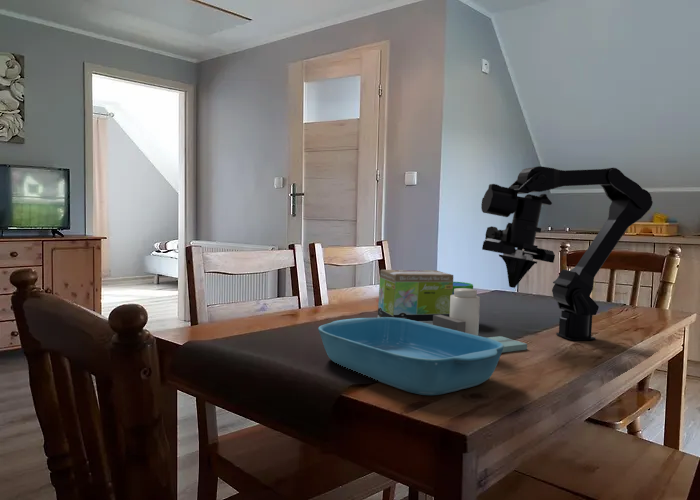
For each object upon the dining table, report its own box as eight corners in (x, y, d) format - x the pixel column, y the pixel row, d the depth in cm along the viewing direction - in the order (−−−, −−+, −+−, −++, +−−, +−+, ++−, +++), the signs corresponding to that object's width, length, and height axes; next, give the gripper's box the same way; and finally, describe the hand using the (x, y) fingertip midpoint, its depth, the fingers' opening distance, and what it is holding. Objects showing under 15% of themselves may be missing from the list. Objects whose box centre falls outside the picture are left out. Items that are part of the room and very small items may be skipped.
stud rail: (500, 341, 127) (501, 309, 126) (526, 349, 120) (528, 316, 119) (431, 349, 118) (433, 315, 117) (456, 358, 111) (457, 322, 110)
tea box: (392, 338, 127) (394, 273, 126) (376, 329, 136) (378, 268, 135) (451, 335, 132) (454, 273, 131) (432, 327, 141) (434, 268, 140)
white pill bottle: (464, 339, 121) (467, 287, 120) (483, 346, 115) (486, 291, 115) (442, 342, 118) (444, 288, 117) (461, 348, 112) (463, 292, 112)
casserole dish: (297, 357, 109) (298, 320, 109) (384, 343, 123) (386, 311, 122) (433, 414, 80) (435, 365, 80) (528, 388, 93) (530, 346, 93)
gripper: (524, 223, 141) (512, 284, 142) (471, 211, 131) (458, 277, 132) (562, 228, 132) (548, 293, 132) (508, 215, 122) (493, 286, 122)
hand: (512, 287), depth 130 cm, fingers closed
